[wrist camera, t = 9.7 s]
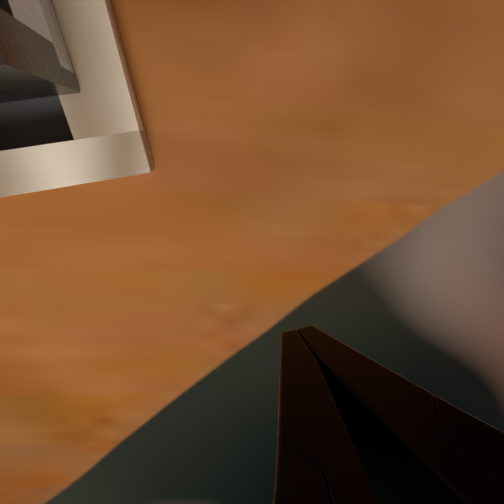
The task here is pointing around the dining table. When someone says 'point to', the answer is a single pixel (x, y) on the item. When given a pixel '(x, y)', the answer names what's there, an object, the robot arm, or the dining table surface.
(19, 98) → the frame
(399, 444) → the robot arm
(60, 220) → the dining table surface
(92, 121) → the cream flat frame
